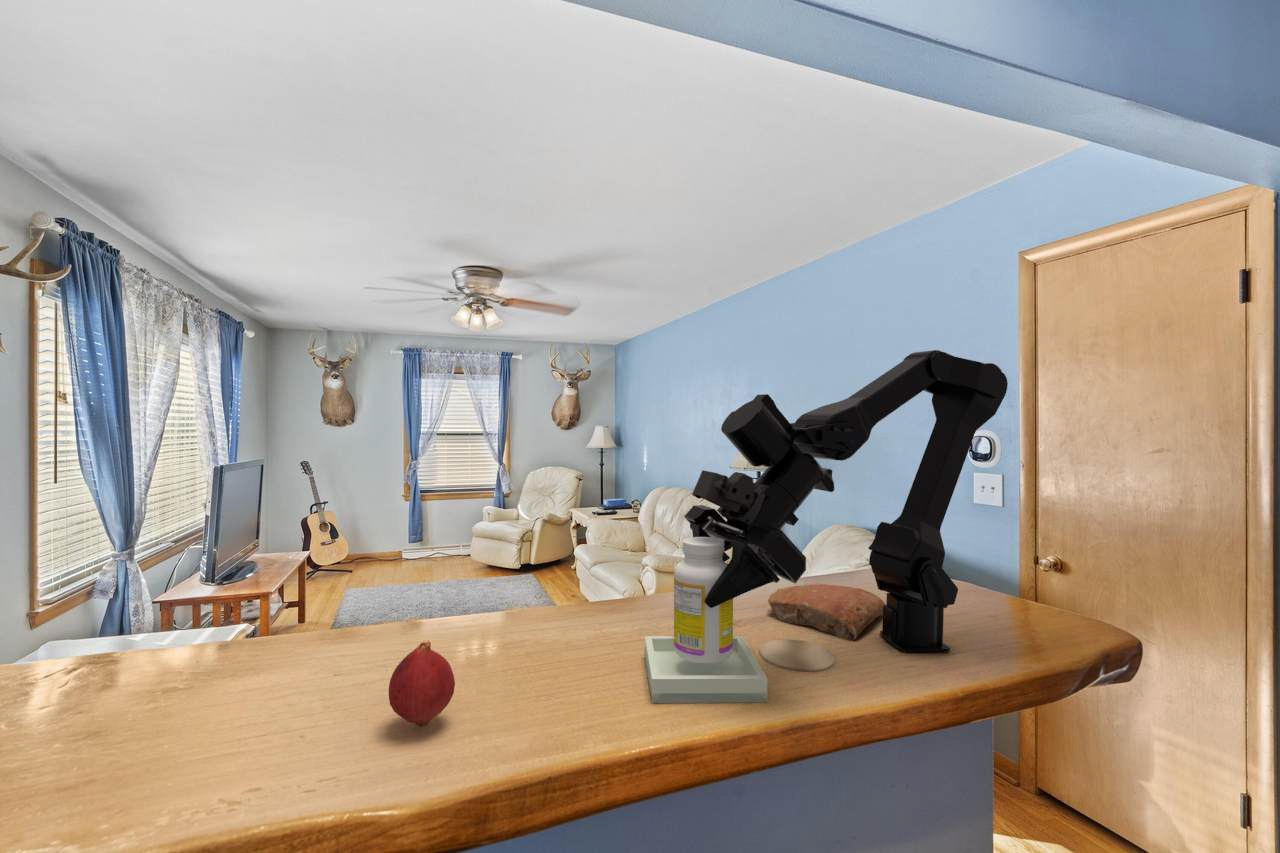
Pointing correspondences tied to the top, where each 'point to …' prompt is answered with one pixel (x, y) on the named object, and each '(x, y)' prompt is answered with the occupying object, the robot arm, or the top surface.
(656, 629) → the top surface
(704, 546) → the supplement bottle
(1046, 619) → the top surface
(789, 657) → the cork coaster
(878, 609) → the ceramic shard
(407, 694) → the onion
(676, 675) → the tray
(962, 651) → the top surface
